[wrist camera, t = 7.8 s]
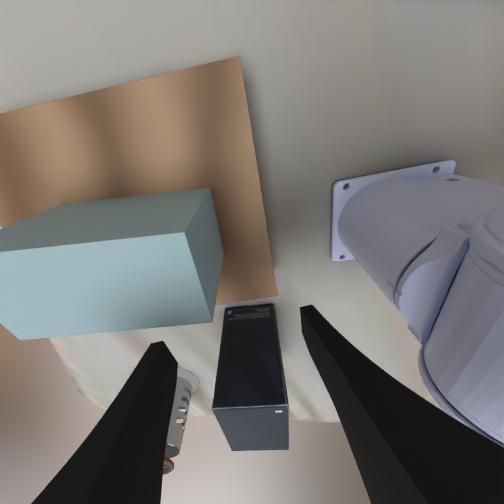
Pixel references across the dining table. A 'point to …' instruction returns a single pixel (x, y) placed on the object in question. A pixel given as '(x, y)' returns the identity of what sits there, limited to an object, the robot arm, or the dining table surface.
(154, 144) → the stand
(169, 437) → the french press
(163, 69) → the dining table surface
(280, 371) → the small box
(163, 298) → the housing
